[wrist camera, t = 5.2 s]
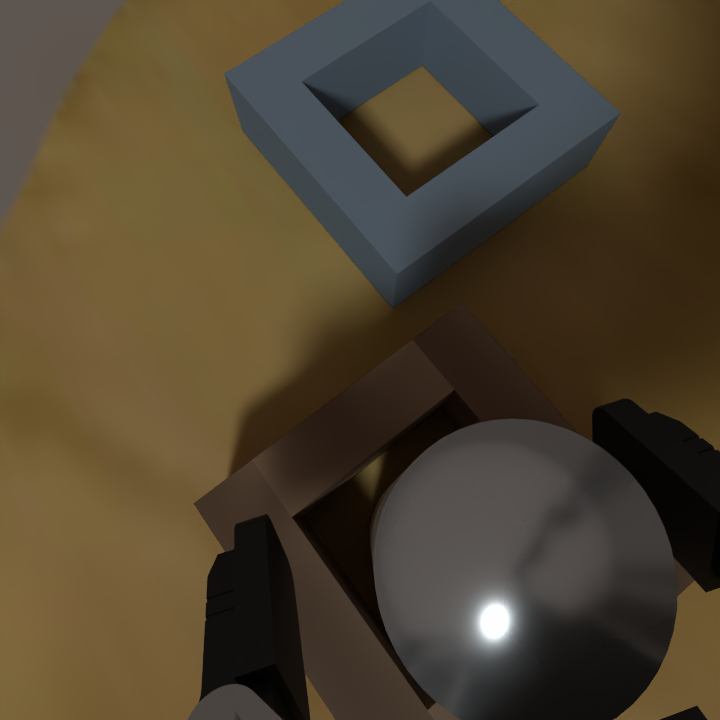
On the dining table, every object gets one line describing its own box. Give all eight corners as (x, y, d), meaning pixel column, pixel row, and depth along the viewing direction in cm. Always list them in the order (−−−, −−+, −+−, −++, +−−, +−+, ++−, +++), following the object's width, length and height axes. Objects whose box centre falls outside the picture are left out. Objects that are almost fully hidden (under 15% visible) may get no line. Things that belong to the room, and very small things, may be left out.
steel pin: (437, 448, 18) (533, 364, 8) (515, 544, 18) (742, 598, 7) (345, 521, 18) (314, 538, 7) (421, 625, 17) (512, 820, 6)
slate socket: (428, 13, 24) (437, -55, 21) (586, 166, 21) (620, 112, 18) (242, 130, 22) (224, 73, 19) (392, 308, 20) (396, 274, 17)
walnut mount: (447, 333, 20) (461, 302, 17) (646, 562, 17) (701, 573, 14) (221, 504, 18) (193, 503, 15) (407, 781, 16) (416, 842, 13)
